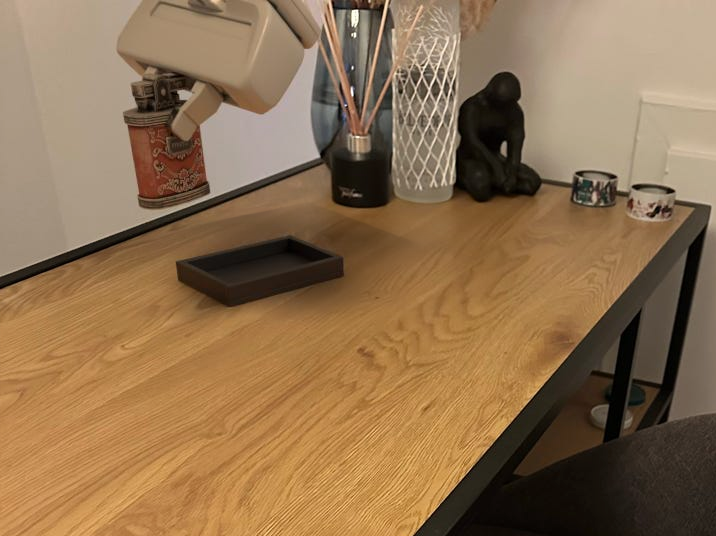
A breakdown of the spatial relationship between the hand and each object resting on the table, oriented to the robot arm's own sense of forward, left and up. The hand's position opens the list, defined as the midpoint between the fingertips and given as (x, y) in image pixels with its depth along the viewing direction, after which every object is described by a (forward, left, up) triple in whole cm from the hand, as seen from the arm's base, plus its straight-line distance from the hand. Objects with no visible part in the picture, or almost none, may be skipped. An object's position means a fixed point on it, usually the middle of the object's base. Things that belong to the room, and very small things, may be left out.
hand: (158, 129), depth 82 cm
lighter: (0, +1, -6) cm, 6 cm away
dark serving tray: (-6, +14, -18) cm, 23 cm away
